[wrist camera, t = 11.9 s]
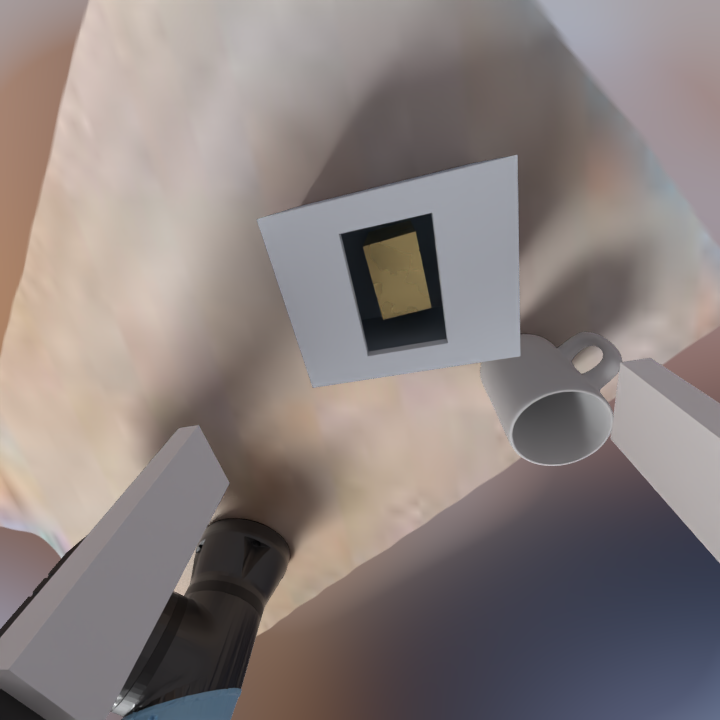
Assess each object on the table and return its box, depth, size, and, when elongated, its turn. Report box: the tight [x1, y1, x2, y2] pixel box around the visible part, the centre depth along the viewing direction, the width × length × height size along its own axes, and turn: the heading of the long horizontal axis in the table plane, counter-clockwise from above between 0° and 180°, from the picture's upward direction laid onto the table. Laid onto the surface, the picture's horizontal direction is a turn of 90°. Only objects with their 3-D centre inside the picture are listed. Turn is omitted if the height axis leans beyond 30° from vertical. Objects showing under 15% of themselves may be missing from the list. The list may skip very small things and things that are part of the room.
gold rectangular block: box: [363, 220, 432, 320], centre depth 30 cm, size 4×6×8 cm, turn 16°
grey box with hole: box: [257, 155, 520, 388], centre depth 29 cm, size 16×13×12 cm
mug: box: [480, 332, 622, 466], centre depth 33 cm, size 12×8×11 cm
